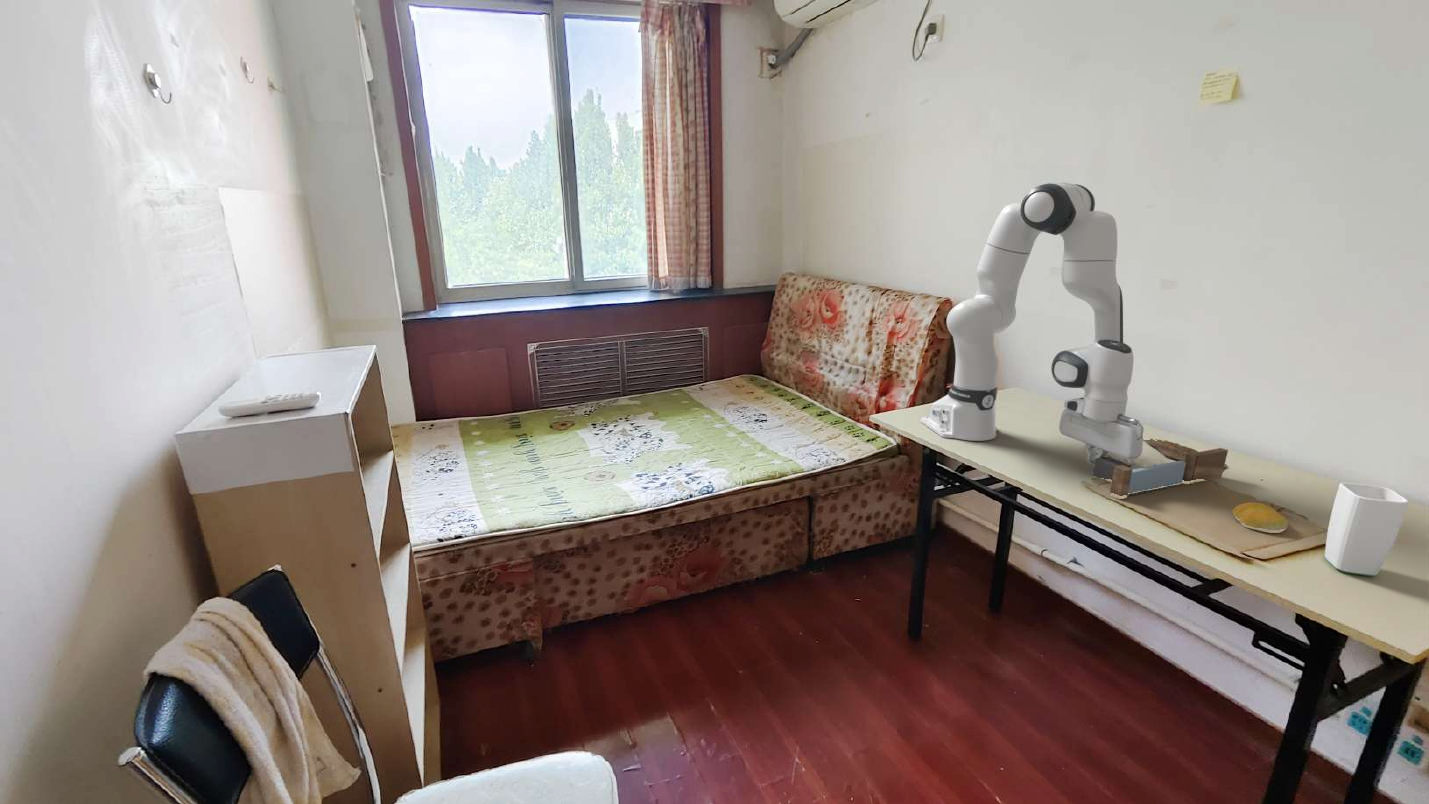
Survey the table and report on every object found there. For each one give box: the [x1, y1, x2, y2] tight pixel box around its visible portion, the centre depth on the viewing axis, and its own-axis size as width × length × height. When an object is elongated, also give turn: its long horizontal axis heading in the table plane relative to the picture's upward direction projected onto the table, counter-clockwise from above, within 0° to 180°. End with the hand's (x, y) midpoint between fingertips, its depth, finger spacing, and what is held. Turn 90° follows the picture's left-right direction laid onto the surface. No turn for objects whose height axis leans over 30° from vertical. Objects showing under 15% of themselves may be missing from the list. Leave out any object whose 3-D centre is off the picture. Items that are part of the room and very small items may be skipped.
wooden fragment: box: [1143, 437, 1228, 472], centre depth 168 cm, size 26×11×1 cm, turn 4°
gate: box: [1128, 460, 1186, 493], centre depth 146 cm, size 1×17×6 cm, turn 109°
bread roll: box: [1232, 501, 1289, 530], centre depth 130 cm, size 8×9×4 cm
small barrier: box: [1109, 447, 1229, 496], centre depth 147 cm, size 2×33×7 cm, turn 109°
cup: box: [1324, 482, 1410, 577], centre depth 112 cm, size 7×7×15 cm
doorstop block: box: [1092, 455, 1132, 480], centre depth 152 cm, size 6×4×4 cm, turn 20°
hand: (1094, 463), depth 156 cm, fingers closed
